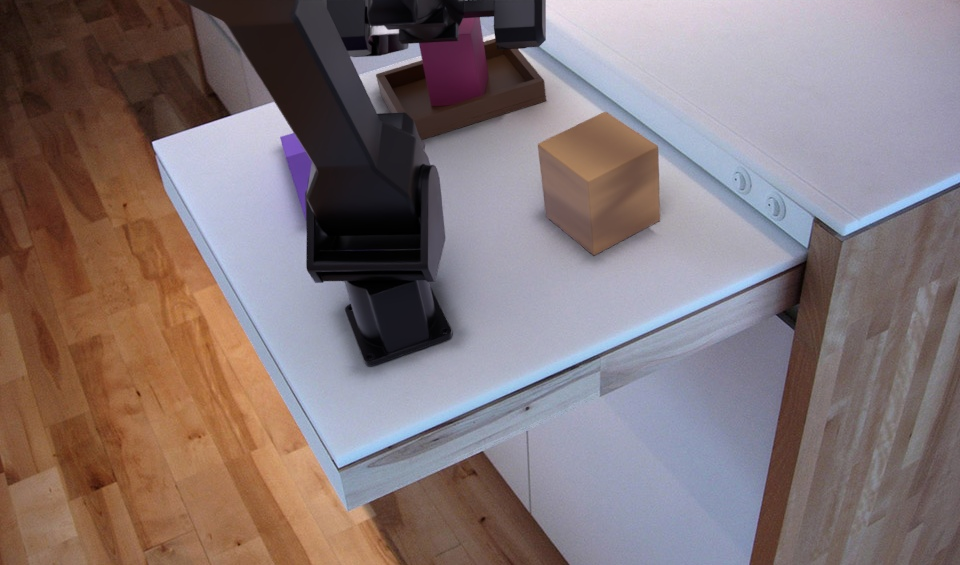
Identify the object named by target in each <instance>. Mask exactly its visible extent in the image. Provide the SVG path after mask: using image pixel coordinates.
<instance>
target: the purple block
mask: <svg viewBox="0 0 960 565" xmlns="http://www.w3.org/2000/svg"><path fill="white" fill-rule="evenodd" d="M279 139H280V142H281V145H282V150H283V154H284V156H285V159H286V163H287V165H288V169H289V171H290V174H291V178H292V182H293V185H294V188H295V191H296V194H297V197H298V200H299V204H300V206H301V210H302V213H303V216H304V220H306V205H305V191H306V190H307V186H308V179H309V175H310V170H311V164H312V161H311V160H310V158H309V156H308V155H307V153H306V152H305V150H304V148H303V147H302V145H301V144H300V142H299V140H298V139H297V137H296V136H295V134H294V133H293V132H292V133H289V134H285V135H282V136H280V137H279Z"/></svg>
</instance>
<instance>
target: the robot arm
mask: <svg viewBox="0 0 960 565" xmlns="http://www.w3.org/2000/svg"><path fill="white" fill-rule="evenodd" d="M179 1H180V2H183V3H185V4H187V5H189V6H191V7H193V8H195V9H197V10H199V11H202V12H203V13H206V14H208V15H210V16H212V17H214V18H216V19H218V20H220V21H222V22H223V23H224V25H225V26H226V27H227V29H228V30H229V33H230V34H231V35H232V38H234V40H235V42H236V43H237V45H238V46H239V48H240V50H241V51H242V53H243V54H244V56H245V57H246V59H247V61H248V63H249V64H250V66H251V68H252V69H253V71H254V72H255V74H256V75H257V77H258V78H259V79H260V81H261V83H262V85H263V86H264V88H265V90H266V91H267V92H268V94H269V96H270V97H271V99H272V101H273V102H274V104H275V106H276V107H277V109H278V110H279V112H280V113H281V115H282V116H283V119H284V120H285V121H286V123H287V125H288V126H289V128H290V129H291V132H292V133H294V134H295V136H296V137H297V139H298V140H299V142H300V144H301V145H302V147H303V148H304V150H305V152H306V153H307V155H308V156H309V158H310V160H311V161H312V164H311V170H310V175H309V179H308V186H307V190H306V191H305V205H306V219H305V224H306V225H305V226H306V250H305V252H306V256H305V257H306V258H305V259H306V260H305V261H306V262H305V266H306V267H305V268H306V271H307V273H308V275H310V277H311V279H312V280H313V281H314V283H315V284H322V283H324V282H343V283H344V286H345V289H346V293H347V296H348V299H349V304H347V305H346V306H345V308H344V311H345V314H346V317H347V320H348V322H349V325H350V328H351V331H352V333H353V336H354V338H355V341H356V344H357V346H358V349H359V351H360V354H361V357H362V359H363V362H364V364H365V365H366V366H369V367H372V366H375V365H378V364H382V363H384V362H387V361H391V360H392V359H396V358H398V357H402V356H404V355H406V354H407V355H408V354H410V353H412V352H413V353H414V352H416V351H419V350H421V349H424V348H427V347H429V346H433V345H435V344H438V343H441V342H444V341H447V340H449V339H451V338H452V336H453V330H452V328H451V325H450V324H449V322H448V319H447V317H446V315H445V313H444V311H443V309H442V307H441V305H440V303H439V300H438V299H437V296H436V295H435V293H434V291H433V288H432V287H431V284H430V282H431V283H435V282H436V278H437V275H438V271H439V267H440V263H441V259H442V255H443V250H444V247H445V243H446V228H445V219H444V208H443V199H442V186H441V179H440V178H441V177H440V174H439V171H438V167H437V166H436V165H435V164H431V162H430V159H429V158H430V157H429V156H428V154H427V152H426V151H425V148H426V143H425V141H423V140H421V139H420V137H419V135H418V132H417V129H416V126H415V122H414V120H413V119H412V118H411V117H410V116H409V115H408V114H407V113H405V112H401V113H391V112H381V113H379V112H378V113H377V110H376V108H375V105H374V104H373V102H372V100H371V98H370V96H369V93H368V91H367V89H366V87H365V84H364V83H363V81H362V79H361V77H360V75H359V73H358V71H357V69H356V67H355V64H354V63H353V60H352V58H366V57H380V56H385V55H388V54H393V53H397V52H401V51H404V50H407V49H409V45H411V44H419V43H430V42H449V41H459V26H460V24H461V22H462V20H463V18H477V17H480V18H491V17H492V18H493V33H494V39H495V41H496V44H497V50H503V49H518V50H521V49H528V48H540V47H541V46H542V45H543V44H544V42H546V40H547V0H179Z"/></svg>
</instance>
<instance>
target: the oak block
mask: <svg viewBox="0 0 960 565" xmlns="http://www.w3.org/2000/svg"><path fill="white" fill-rule="evenodd" d="M537 151H538V160H539V169H540V177H541V185H542V193H543V202H544V203H543V204H544V211H545V217H546V218H547V219H548V220H550V221H551V222H552V223H553V224H555V225H556V226H557V227H558V228H560V229H561V230H562V231H563V232H565V233H566V234H567V235H568V236H569V237H570V238H572V239H573V240H574V241H575V242H576V243H578V244H579V245H580V246H581V247H582V248H583V249H585V250H586V251H587V252H589V253H590V254H591V255H592V256H597V255H599V254H600V253H602V252H604V251H606V250H608V249H609V248H611V247H613V246H615V245H617V244H620V243H621V242H623V241H625V240H627V239H628V238H630V237H632V236H634V235H636V234H638V233H640V232H642V231H643V230H646V229H647V228H649V227H651V226H653V225H654V224H657V223H658V222H660V221H661V209H660V208H661V202H660V201H661V200H660V197H661V196H660V168H659V167H660V164H659V162H660V160H659V159H660V157H659V146H658V144H656V143H654V142H653V141H651V140H650V139H648V138H647V137H646V136H644V135H643V134H640V133H639V132H638V131H636V130H635V129H633V128H632V127H630V126H629V125H627V124H626V123H624V122H622V121H621V120H619V119H618V118H616V117H615V116H613V115H612V114H610V113H609V112H607V111H603V112H600V113H599V114H597V115H595V116H592V117H591V118H588V119H587V120H584V121H582V122H580V123H578V124H576V125H573V126H572V127H570V128H567V129H566V130H564V131H562V132H559V133H557V134H555V135H553V136H551V137H549V138H546V139H545V140H543V141H540V142H539V143H537Z"/></svg>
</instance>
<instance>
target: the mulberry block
mask: <svg viewBox="0 0 960 565" xmlns="http://www.w3.org/2000/svg"><path fill="white" fill-rule="evenodd" d="M483 36H484V35H483V30H482V22H481V17H477V18H463V20H462V22H461V24H460V26H459V41H449V42H430V43H418V45H419V46H418V47H419V51H420V56H421V60H422V62H423V67H424V72H425V77H426V82H427V87H428V92H429V97H430V102H431V106H449V105H453V104H456V103H459V102H462V101H466V100H469V99H472V98H475V97H478V96H482V95H484V93H485V89H486V85H487V81H488V77H489V76H488V69H487V62H486V56H485V49H484V42H485V41H484V37H483Z"/></svg>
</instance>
